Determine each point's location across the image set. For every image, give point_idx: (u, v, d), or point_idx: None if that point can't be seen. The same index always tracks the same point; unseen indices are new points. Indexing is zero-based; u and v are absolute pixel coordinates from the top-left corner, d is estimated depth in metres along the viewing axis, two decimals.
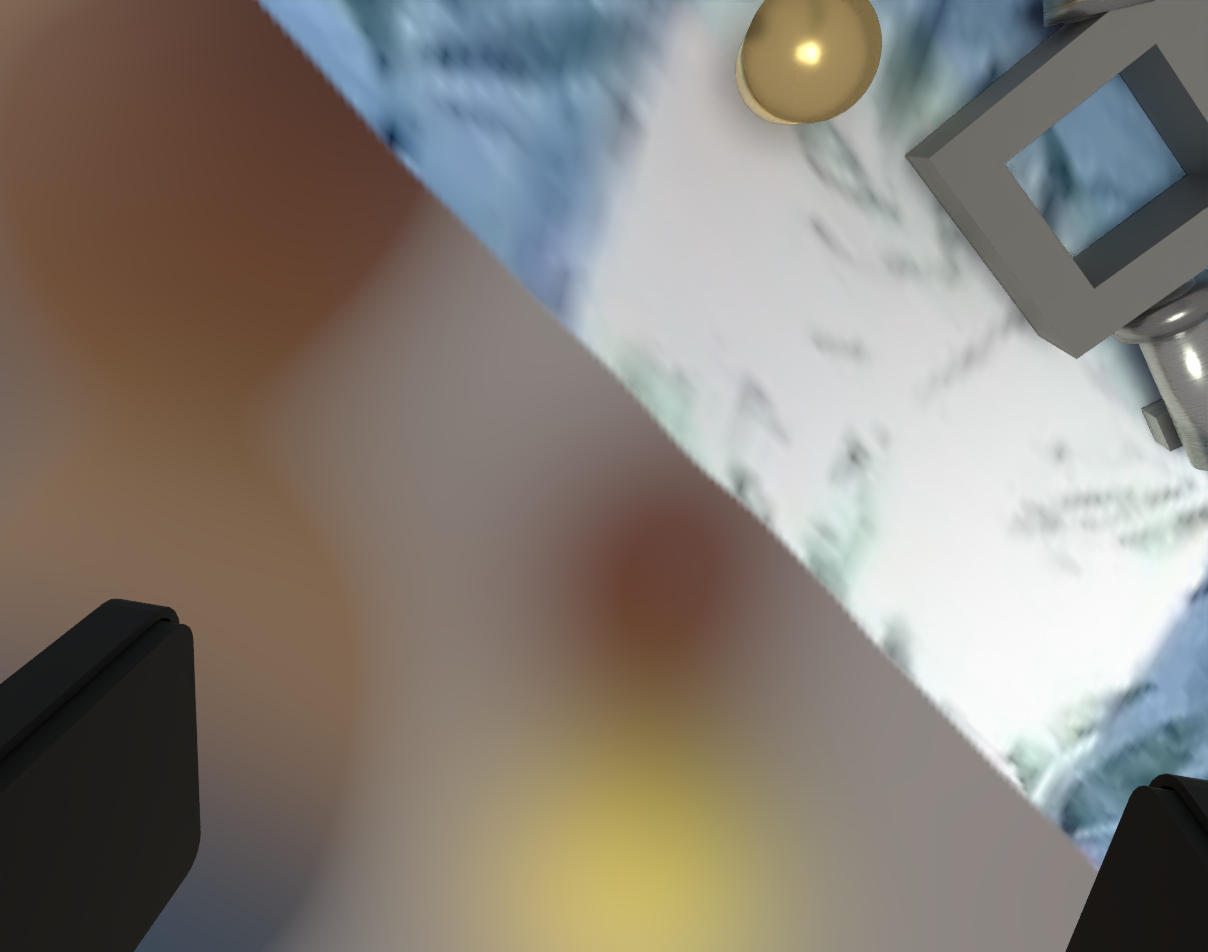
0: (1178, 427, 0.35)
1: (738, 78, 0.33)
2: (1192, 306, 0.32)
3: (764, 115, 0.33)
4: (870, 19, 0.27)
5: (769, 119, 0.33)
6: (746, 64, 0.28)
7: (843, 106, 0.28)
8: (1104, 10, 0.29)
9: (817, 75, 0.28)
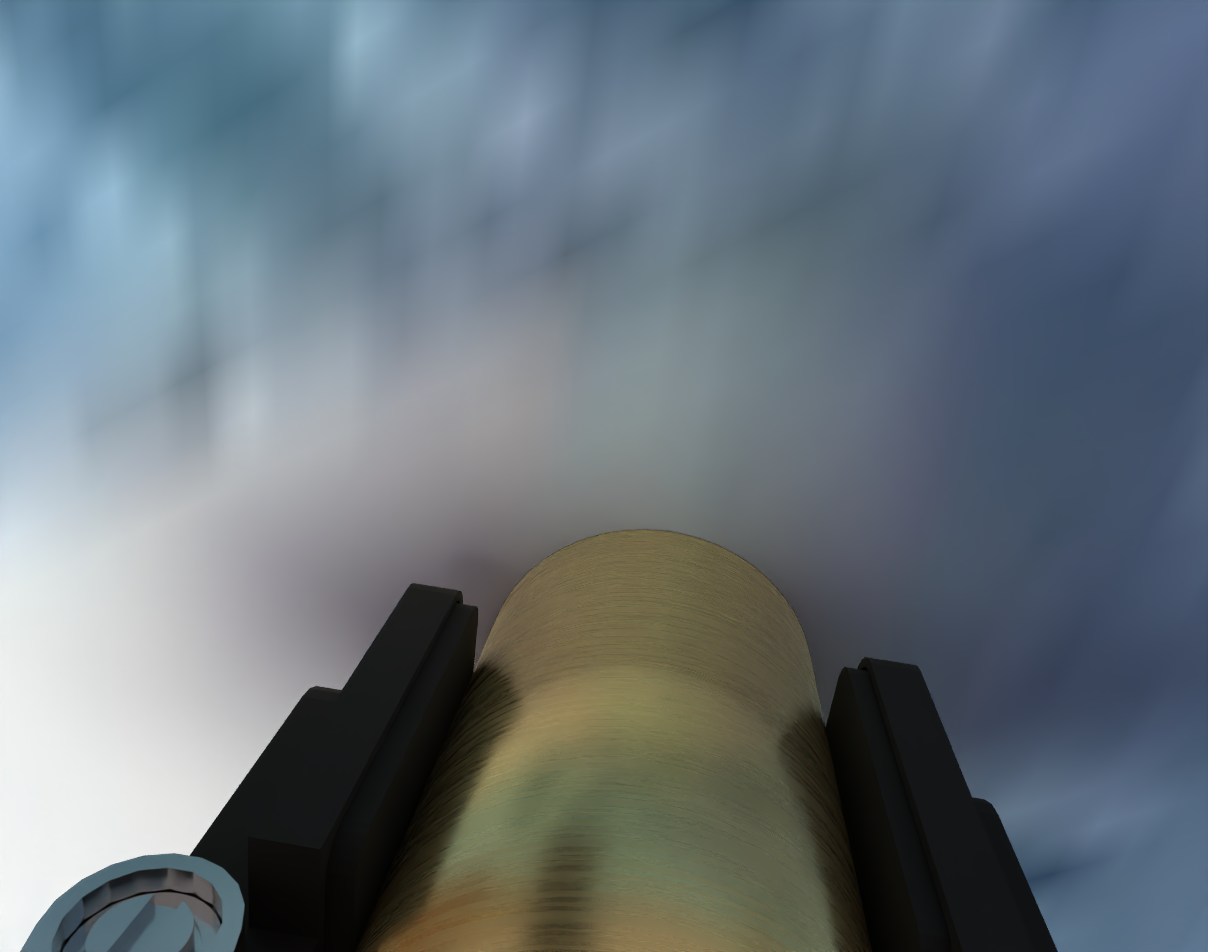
0: None
1: (475, 681, 0.09)
2: None
3: None
4: None
5: None
6: None
7: None
8: None
9: None
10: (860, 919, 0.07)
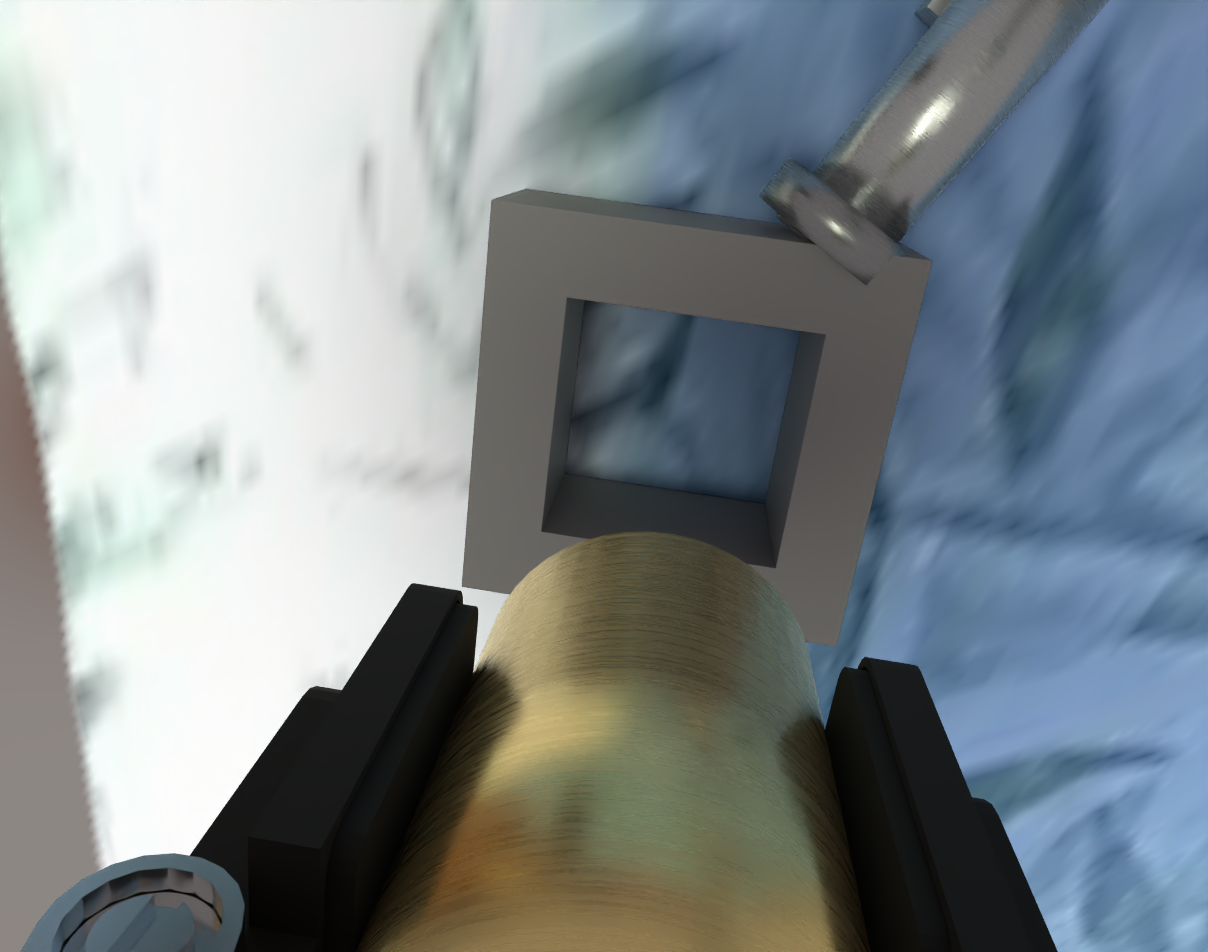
0: None
1: (475, 683, 0.09)
2: None
3: None
4: None
5: None
6: None
7: None
8: (810, 237, 0.19)
9: None
10: (859, 921, 0.07)
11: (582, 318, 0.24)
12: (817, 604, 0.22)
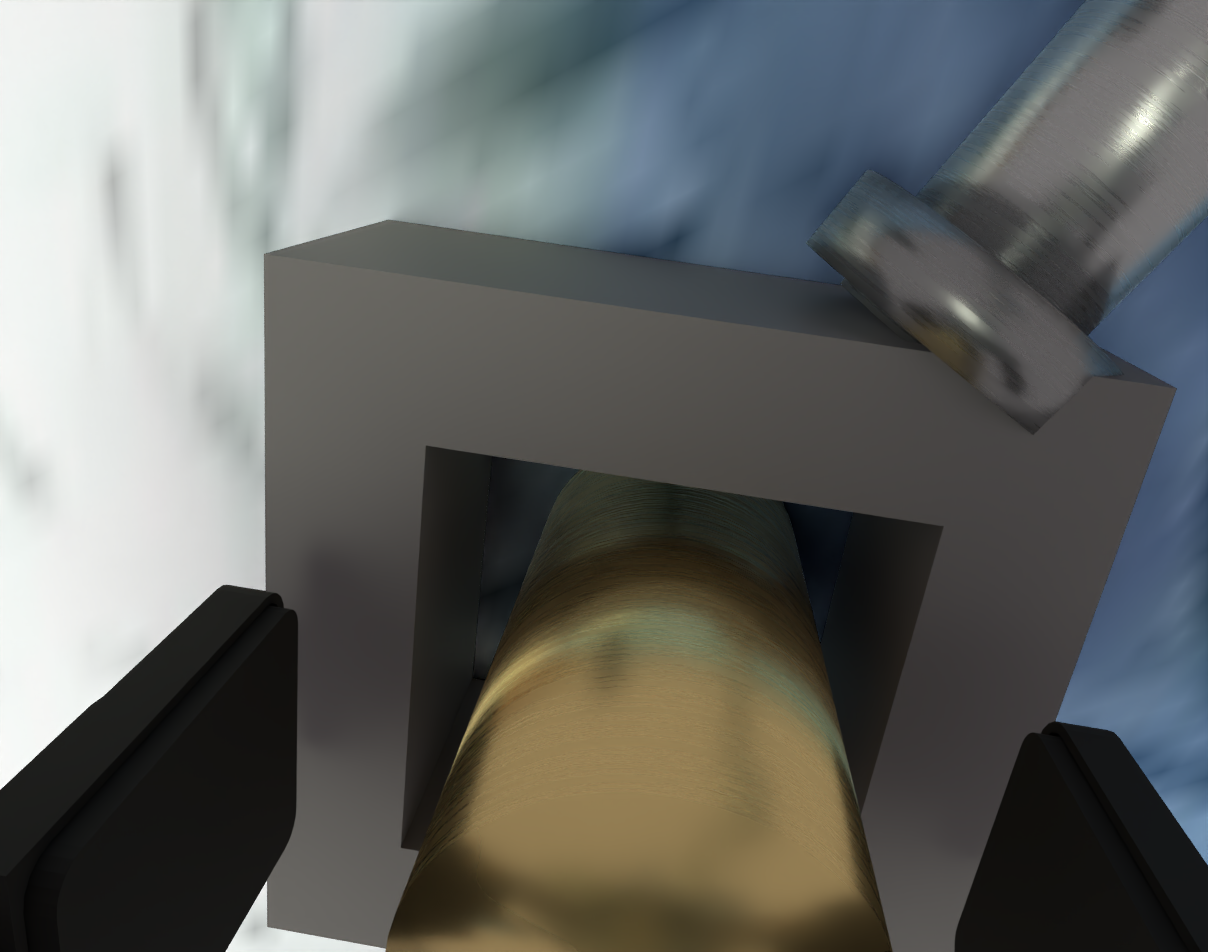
0: None
1: (544, 540, 0.12)
2: None
3: None
4: None
5: None
6: (431, 869, 0.07)
7: None
8: (923, 339, 0.09)
9: None
10: (823, 668, 0.10)
11: None
12: None
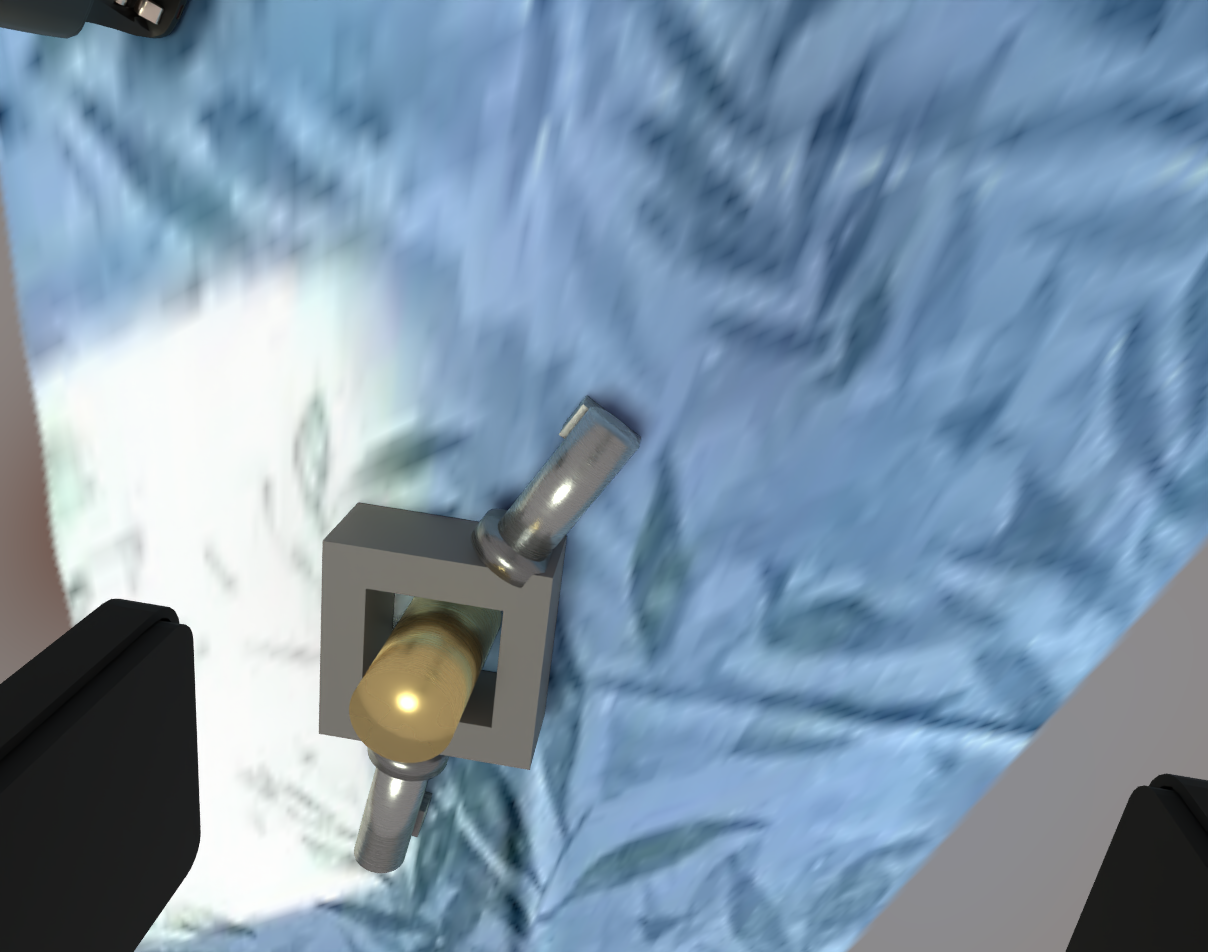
0: None
1: (406, 609, 0.39)
2: (405, 767, 0.39)
3: None
4: (447, 735, 0.34)
5: None
6: (357, 687, 0.34)
7: (393, 757, 0.35)
8: (487, 566, 0.36)
9: (393, 730, 0.34)
10: (472, 648, 0.37)
11: None
12: (516, 747, 0.39)
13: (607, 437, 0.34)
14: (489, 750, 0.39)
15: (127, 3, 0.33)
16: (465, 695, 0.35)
